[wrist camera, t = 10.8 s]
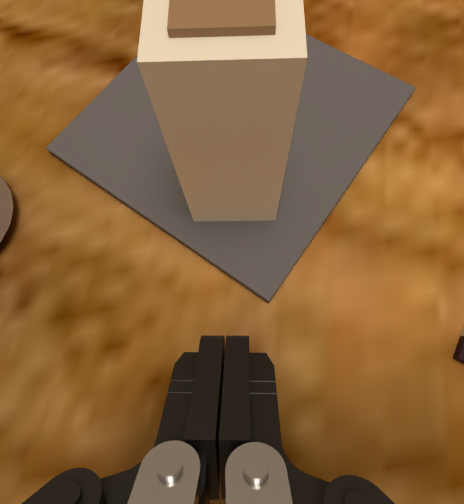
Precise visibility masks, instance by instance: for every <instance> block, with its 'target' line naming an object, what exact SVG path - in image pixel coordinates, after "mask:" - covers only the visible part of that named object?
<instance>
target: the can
mask: <svg viewBox="0 0 464 504" xmlns="http://www.w3.org/2000/svg"><path fill="white" fill-rule="evenodd" d="M12 212H13V201H12V195H11V191H10V189H9V187H8V186H7V184H6V183H5V181H4V179H3V178H2V177H0V242H1V241H2V239H3V237H4V235H5V233H6V232H7V230H8V228H9V226H10V223H11V218H12Z"/></svg>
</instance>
